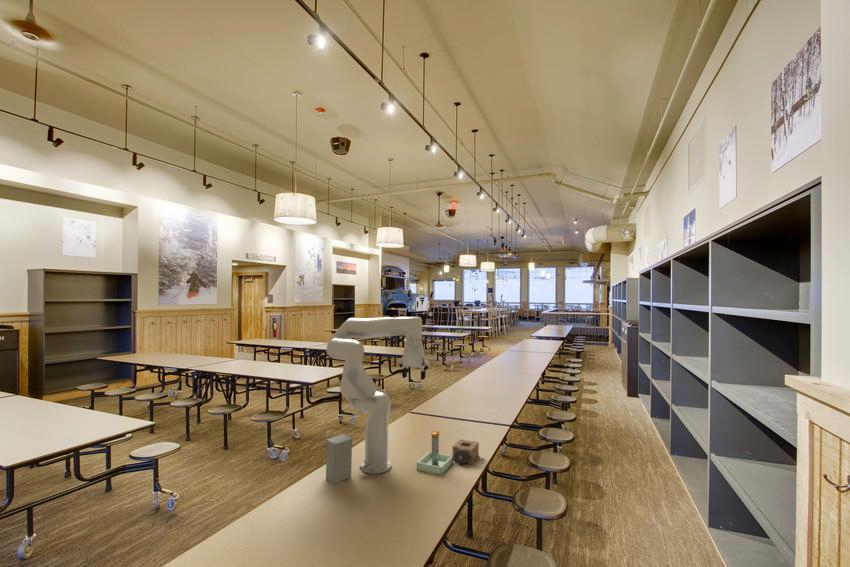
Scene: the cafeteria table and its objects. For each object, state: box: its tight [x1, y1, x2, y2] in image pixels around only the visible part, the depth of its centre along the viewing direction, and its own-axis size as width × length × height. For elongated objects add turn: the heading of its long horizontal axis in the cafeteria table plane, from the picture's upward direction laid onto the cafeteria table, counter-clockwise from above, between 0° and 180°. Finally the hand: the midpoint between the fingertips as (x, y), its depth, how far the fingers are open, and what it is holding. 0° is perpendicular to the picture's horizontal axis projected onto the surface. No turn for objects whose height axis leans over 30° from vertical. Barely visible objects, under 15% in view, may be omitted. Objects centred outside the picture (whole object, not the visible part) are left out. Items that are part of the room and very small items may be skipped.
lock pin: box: [430, 430, 440, 466], centre depth 164 cm, size 4×4×14 cm
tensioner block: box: [452, 439, 480, 465], centre depth 171 cm, size 13×9×6 cm
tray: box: [416, 451, 454, 476], centre depth 163 cm, size 13×11×3 cm
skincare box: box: [325, 433, 353, 485], centre depth 152 cm, size 8×7×16 cm
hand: (413, 378), depth 184 cm, fingers open, 9 cm apart
